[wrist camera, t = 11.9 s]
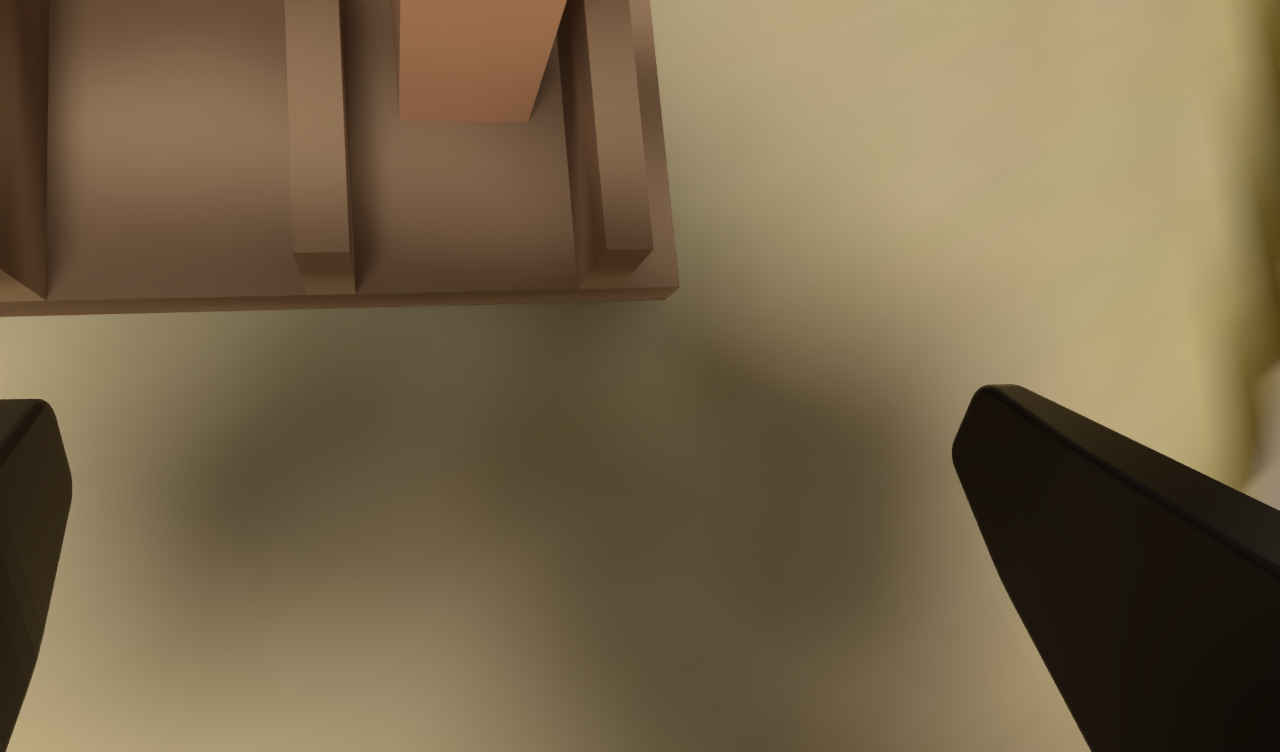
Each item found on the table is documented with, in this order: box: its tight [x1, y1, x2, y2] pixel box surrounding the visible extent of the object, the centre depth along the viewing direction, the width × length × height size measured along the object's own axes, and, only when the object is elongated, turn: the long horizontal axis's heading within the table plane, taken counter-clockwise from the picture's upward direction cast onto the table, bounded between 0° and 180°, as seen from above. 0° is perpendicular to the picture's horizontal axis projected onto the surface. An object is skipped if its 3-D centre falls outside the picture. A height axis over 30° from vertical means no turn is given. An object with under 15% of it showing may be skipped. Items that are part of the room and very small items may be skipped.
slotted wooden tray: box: [0, 0, 679, 317], centre depth 20 cm, size 12×16×4 cm
